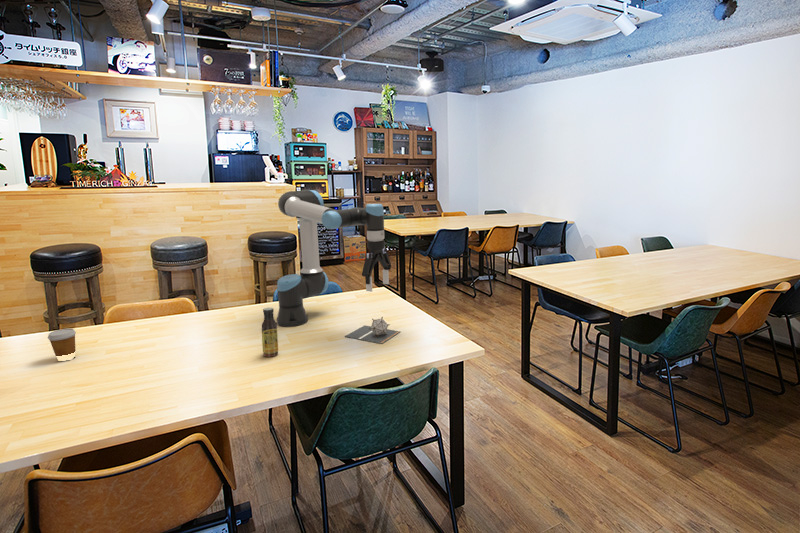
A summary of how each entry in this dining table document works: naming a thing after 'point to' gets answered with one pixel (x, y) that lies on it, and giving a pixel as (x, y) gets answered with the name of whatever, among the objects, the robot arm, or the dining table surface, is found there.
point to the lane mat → (371, 335)
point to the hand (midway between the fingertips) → (377, 287)
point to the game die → (379, 326)
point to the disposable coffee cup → (63, 341)
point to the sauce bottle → (269, 334)
